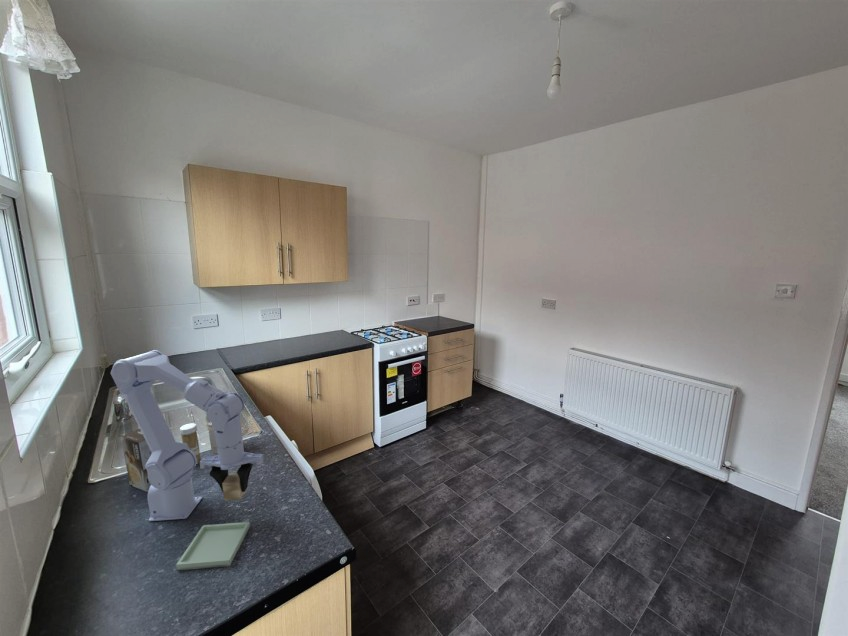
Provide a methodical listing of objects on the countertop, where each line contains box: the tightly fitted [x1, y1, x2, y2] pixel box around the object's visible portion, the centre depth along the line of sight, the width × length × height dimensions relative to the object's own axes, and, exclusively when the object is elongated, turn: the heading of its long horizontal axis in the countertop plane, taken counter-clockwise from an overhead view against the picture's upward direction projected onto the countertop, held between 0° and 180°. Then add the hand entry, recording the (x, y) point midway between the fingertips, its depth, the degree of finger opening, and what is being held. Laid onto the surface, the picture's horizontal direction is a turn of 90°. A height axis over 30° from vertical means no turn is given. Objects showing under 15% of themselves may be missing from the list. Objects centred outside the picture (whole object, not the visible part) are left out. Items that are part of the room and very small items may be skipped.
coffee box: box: [120, 428, 152, 493], centre depth 104 cm, size 9×6×16 cm
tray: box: [175, 521, 251, 571], centre depth 82 cm, size 11×11×2 cm
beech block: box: [222, 472, 248, 502], centre depth 89 cm, size 4×4×5 cm
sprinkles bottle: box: [179, 422, 202, 464], centre depth 114 cm, size 5×5×14 cm
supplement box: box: [207, 421, 218, 457], centre depth 120 cm, size 8×5×13 cm, turn 169°
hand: (235, 490), depth 90 cm, fingers closed on beech block, 4 cm apart
